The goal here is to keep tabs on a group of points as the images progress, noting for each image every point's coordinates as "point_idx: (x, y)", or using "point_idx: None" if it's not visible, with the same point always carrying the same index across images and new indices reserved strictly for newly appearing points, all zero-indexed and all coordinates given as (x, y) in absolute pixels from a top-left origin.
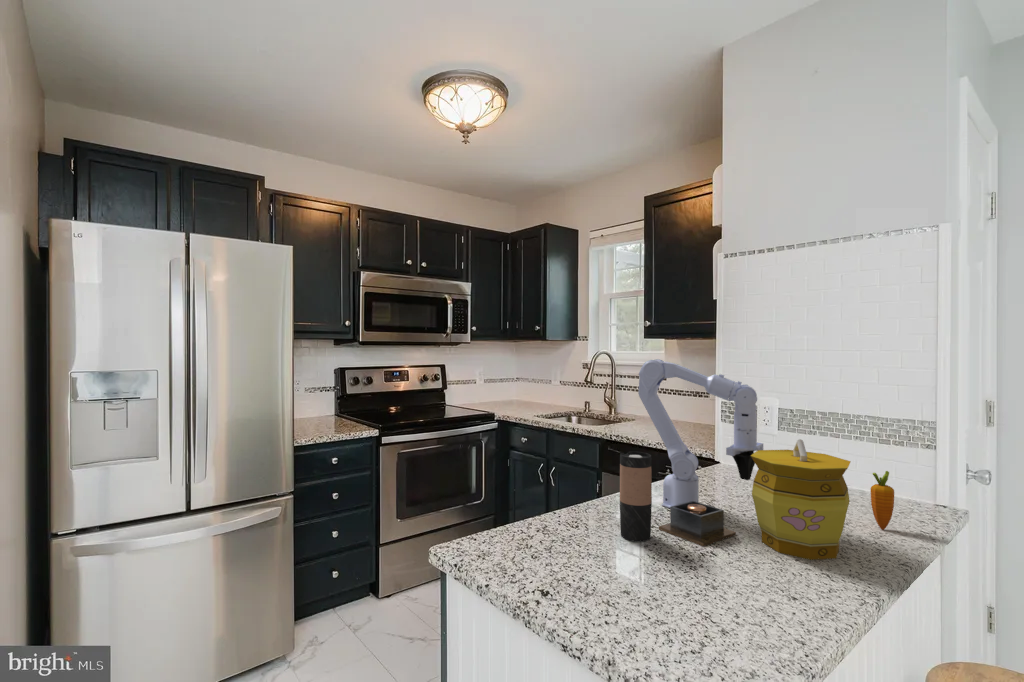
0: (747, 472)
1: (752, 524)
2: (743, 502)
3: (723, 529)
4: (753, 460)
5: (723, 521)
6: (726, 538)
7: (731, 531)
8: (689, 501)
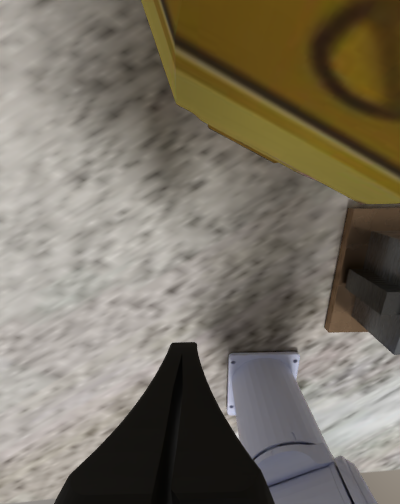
0: (202, 372)
1: (227, 234)
2: (86, 342)
3: (377, 231)
4: (160, 445)
5: (395, 238)
6: (390, 207)
7: (358, 218)
8: (290, 381)
